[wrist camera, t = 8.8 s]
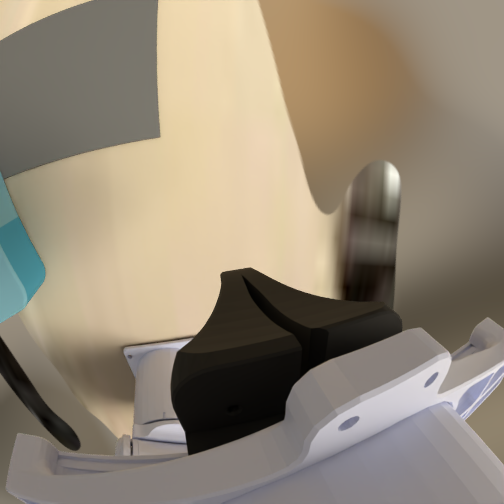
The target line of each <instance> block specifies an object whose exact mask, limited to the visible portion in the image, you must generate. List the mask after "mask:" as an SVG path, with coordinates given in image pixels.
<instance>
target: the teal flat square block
mask: <svg viewBox="0 0 504 504" xmlns="http://www.w3.org/2000/svg"><path fill="white" fill-rule="evenodd" d="M44 279H45V268H44V265H43V263H42V261H41V259H40V257H39V255H38V254H37V252H36V250H35V248H34V246H33V244H32V243H31V241H30V239H29V237H28V235H27V233H26V231H25V229H24V227H23V225H22V223H21V220H20V218H19V216H18V214H17V212H16V209H15V207H14V205H13V203H12V200H11V198H10V195H9V193H8V190H7V188H6V185H5V182H4V180H3V177H2V174H1V172H0V323H1V322H3V321H5V320H6V319H8V318H10V317H11V316H13V315H14V314H16V313H18V312H20V311H21V310H23V309H24V308H25V307H26V305H27V304H28V302H29V301H30V299H31V298H32V297H33V295H34V294H35V293H36V291H37V290H38V289H39V287H40V286H41V285H42V283H43V282H44Z"/></svg>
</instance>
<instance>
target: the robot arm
mask: <svg viewBox="0 0 504 504" xmlns="http://www.w3.org/2000/svg"><path fill="white" fill-rule="evenodd" d="M220 276H221V289H220V294H219V297H218V300H217V303H216V305H215V308H214V310H213V312H212V314H211V316H210V318H209V319H208V321H207V322H206V324H205V325H204V327H203V328H202V329H201V331H200V332H199V333H198V334H197V335H196V336H195V337H194V338H188V339H182V340H176V341H169V342H162V343H154V344H146V345H138V346H130V347H125V348H124V351H123V352H124V355H125V357H126V359H127V362H128V364H129V366H130V368H131V370H132V373H133V375H134V377H135V379H136V384H135V400H134V424H133V434H132V439H130V436H129V435H125V434H124V435H123V436H122V437H121V438H119V439H118V440H117V442H116V453H115V455H93V454H80V453H69V452H62V451H58V450H57V449H56V448H55V446H54V445H53V444H51V443H50V442H49V441H48V440H46V439H44V438H42V437H38V436H32V435H27V434H22V433H18V434H17V437H16V441H15V445H14V449H13V453H12V457H11V462H10V467H9V472H8V477H7V483H6V490H7V492H9V493H10V494H12V495H13V496H15V497H16V498H18V499H19V500H21V501H23V502H24V503H26V504H504V465H503V464H502V462H501V461H500V460H499V459H498V458H497V457H496V456H495V454H494V453H493V452H492V451H491V450H490V449H489V447H488V446H487V445H486V444H485V443H484V442H483V441H482V440H481V438H480V437H479V436H478V435H477V434H476V433H475V432H474V431H473V430H472V428H471V427H470V426H469V425H468V424H467V423H466V422H465V419H467V417H469V416H470V414H472V413H473V411H475V410H476V409H477V407H478V406H479V405H480V404H481V403H482V402H483V401H484V400H485V399H486V398H487V397H488V396H489V395H490V394H491V392H492V391H493V390H494V389H495V388H496V387H497V386H498V385H499V383H500V382H501V380H502V379H503V377H504V329H503V328H502V327H501V326H499V325H497V324H496V323H495V322H494V321H493V320H491V319H490V318H486V319H485V320H483V321H482V322H481V323H479V324H478V325H477V326H476V327H475V328H474V330H473V332H472V334H471V337H470V339H469V342H468V343H466V344H465V345H464V346H462V347H461V348H460V349H458V350H457V351H455V352H454V353H452V354H451V355H450V353H449V352H448V351H447V350H446V349H445V348H444V347H443V346H442V345H440V344H439V343H438V342H437V341H436V340H435V339H433V338H432V337H431V336H430V335H429V334H428V333H426V332H425V331H424V330H423V329H422V328H415V329H409V330H406V331H403V332H402V320H401V318H400V316H399V315H398V314H397V313H396V312H395V311H394V310H392V309H391V308H390V307H389V306H388V305H386V304H385V303H384V302H354V301H343V300H335V299H330V298H325V297H320V296H316V295H312V294H308V293H305V292H302V291H299V290H296V289H294V288H291V287H289V286H286V285H284V284H282V283H280V282H278V281H276V280H274V279H272V278H270V277H268V276H266V275H264V274H262V273H260V272H259V271H257V270H255V269H253V268H244V269H238V270H232V271H226V272H222V274H221V275H220ZM129 355H132V356H129ZM131 446H132V447H131Z"/></svg>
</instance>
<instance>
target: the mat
mask: <svg viewBox="0 0 504 504" xmlns="http://www.w3.org/2000/svg"><path fill="white" fill-rule="evenodd" d="M157 10H158V0H93V1H89V2H86V3H83V4H80V5H77V6H74V7H71V8H68V9H66V10H63V11H60V12H58V13H55V14H53V15H50V16H48V17H46V18H43V19H41V20H39V21H37V22H35V23H33V24H30V25H28V26H26V27H24V28H22V29H21V30H19V31H17V32H15V33H13V34H11V35H9V36H8V37H6V38H4V39H2V40H1V41H0V172H1V174H2V177H3V179H5V178H8V177H10V176H13V175H15V174H18V173H21V172H24V171H26V170H29V169H32V168H35V167H38V166H41V165H44V164H47V163H50V162H53V161H57V160H60V159H63V158H67V157H70V156H74V155H78V154H81V153H85V152H89V151H93V150H97V149H102V148H106V147H111V146H115V145H120V144H125V143H130V142H135V141H141V140H147V139H153V138H159V137H160V126H159V111H158V91H157Z"/></svg>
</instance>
